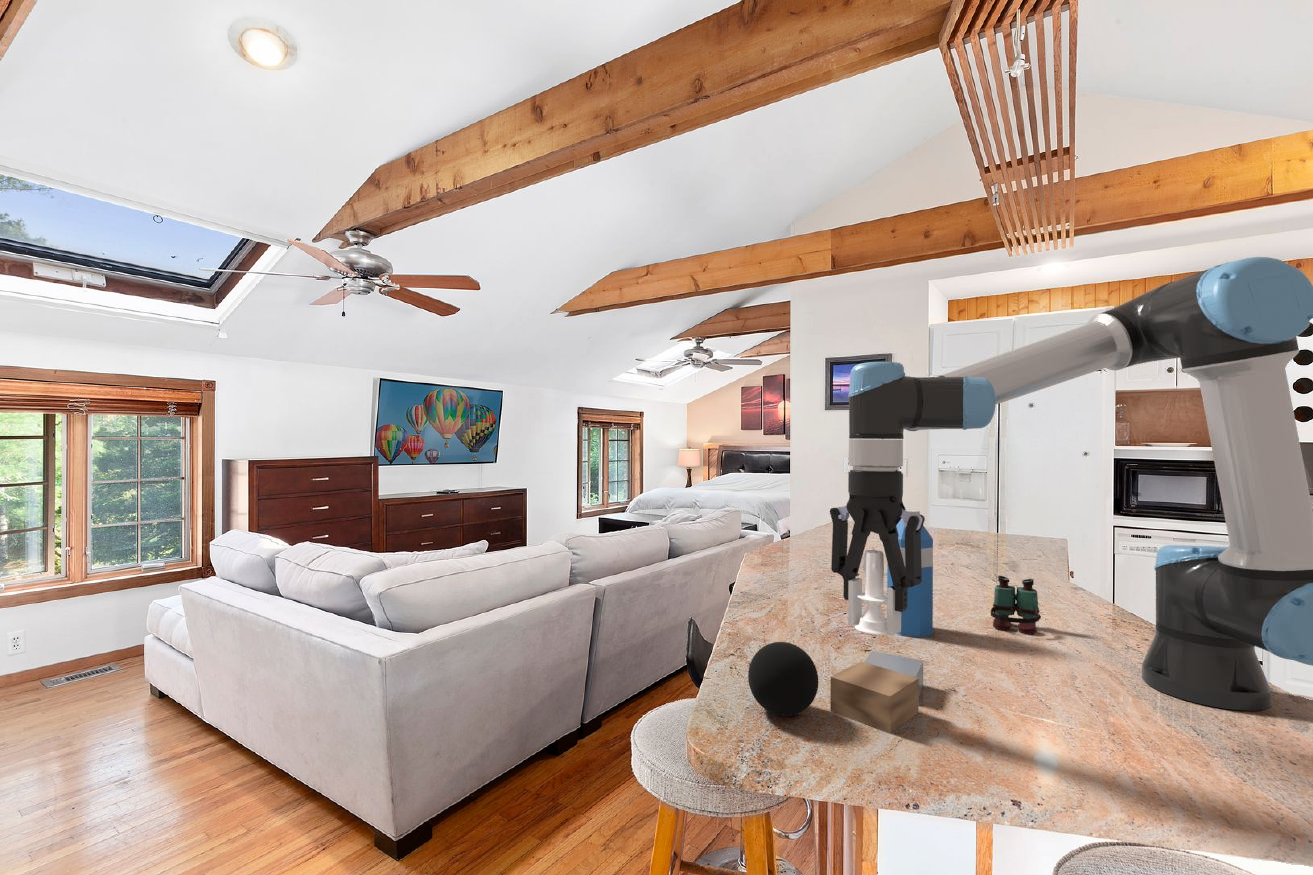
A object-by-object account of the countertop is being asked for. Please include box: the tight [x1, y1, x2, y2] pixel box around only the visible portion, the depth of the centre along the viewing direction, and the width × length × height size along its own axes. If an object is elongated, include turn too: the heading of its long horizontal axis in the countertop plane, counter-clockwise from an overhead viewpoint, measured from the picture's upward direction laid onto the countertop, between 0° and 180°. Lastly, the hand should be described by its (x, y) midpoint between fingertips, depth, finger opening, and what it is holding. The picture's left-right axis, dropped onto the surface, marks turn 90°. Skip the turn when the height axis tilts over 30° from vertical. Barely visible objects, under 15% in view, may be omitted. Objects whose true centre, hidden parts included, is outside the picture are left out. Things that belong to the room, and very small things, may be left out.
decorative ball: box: [747, 641, 819, 717], centre depth 87 cm, size 10×10×10 cm
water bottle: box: [886, 508, 934, 638], centre depth 124 cm, size 9×9×25 cm
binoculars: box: [990, 575, 1042, 635], centre depth 125 cm, size 9×11×10 cm
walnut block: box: [829, 661, 920, 734], centre depth 87 cm, size 9×9×5 cm
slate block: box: [863, 650, 924, 695], centre depth 95 cm, size 8×8×4 cm
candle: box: [854, 546, 888, 636], centre depth 87 cm, size 5×5×12 cm
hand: (874, 627), depth 87 cm, fingers closed on candle, 5 cm apart
